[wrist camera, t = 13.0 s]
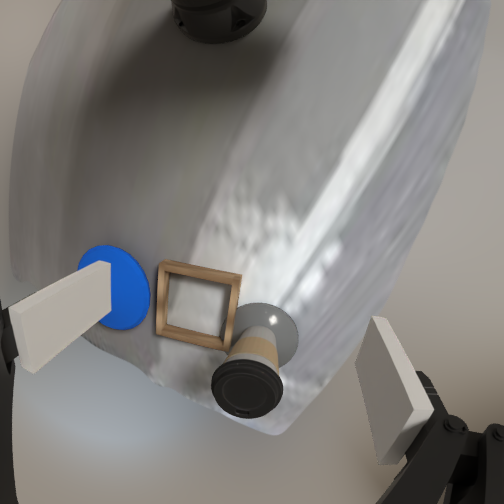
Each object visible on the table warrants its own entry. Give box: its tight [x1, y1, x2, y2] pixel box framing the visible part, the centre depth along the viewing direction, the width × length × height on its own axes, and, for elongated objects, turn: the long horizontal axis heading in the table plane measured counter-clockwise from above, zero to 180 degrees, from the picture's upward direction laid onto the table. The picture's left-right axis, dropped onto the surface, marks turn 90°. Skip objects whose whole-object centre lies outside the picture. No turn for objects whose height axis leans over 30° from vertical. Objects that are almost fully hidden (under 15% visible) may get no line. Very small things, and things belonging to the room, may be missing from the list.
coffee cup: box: [211, 326, 283, 419], centre depth 43 cm, size 9×9×15 cm
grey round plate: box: [221, 303, 298, 368], centre depth 50 cm, size 13×13×1 cm
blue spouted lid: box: [77, 245, 150, 330], centre depth 49 cm, size 16×16×7 cm
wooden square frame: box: [156, 259, 242, 352], centre depth 50 cm, size 13×13×2 cm
